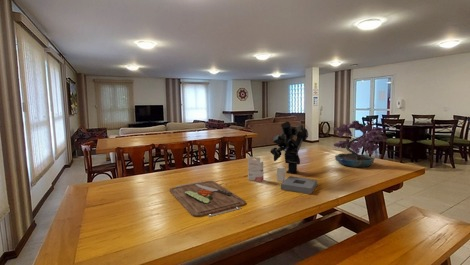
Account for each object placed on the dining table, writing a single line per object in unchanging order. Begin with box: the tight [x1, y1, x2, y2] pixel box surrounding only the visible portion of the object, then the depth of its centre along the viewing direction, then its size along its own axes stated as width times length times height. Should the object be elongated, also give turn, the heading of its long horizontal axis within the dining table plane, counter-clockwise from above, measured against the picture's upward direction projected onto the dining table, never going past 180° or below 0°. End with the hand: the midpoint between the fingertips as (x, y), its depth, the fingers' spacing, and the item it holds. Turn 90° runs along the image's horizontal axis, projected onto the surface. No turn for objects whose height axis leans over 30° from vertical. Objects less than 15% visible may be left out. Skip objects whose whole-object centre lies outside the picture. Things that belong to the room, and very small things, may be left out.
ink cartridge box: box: [247, 156, 265, 183], centre depth 153 cm, size 9×5×15 cm, turn 62°
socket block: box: [280, 175, 318, 195], centre depth 140 cm, size 16×16×3 cm
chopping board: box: [168, 180, 247, 218], centre depth 129 cm, size 45×27×3 cm, turn 30°
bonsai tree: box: [333, 120, 388, 168], centre depth 183 cm, size 35×27×33 cm
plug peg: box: [276, 165, 287, 183], centre depth 152 cm, size 4×4×8 cm
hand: (279, 158), depth 146 cm, fingers open, 9 cm apart
